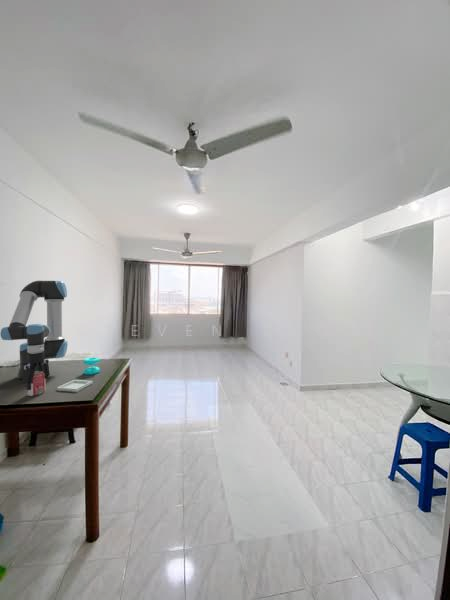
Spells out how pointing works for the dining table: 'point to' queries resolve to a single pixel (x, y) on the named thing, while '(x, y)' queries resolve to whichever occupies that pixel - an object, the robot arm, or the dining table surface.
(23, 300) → the robot arm
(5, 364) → the dining table surface
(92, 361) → the donuts
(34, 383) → the soda can
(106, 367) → the dining table surface
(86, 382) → the dish
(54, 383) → the dining table surface
